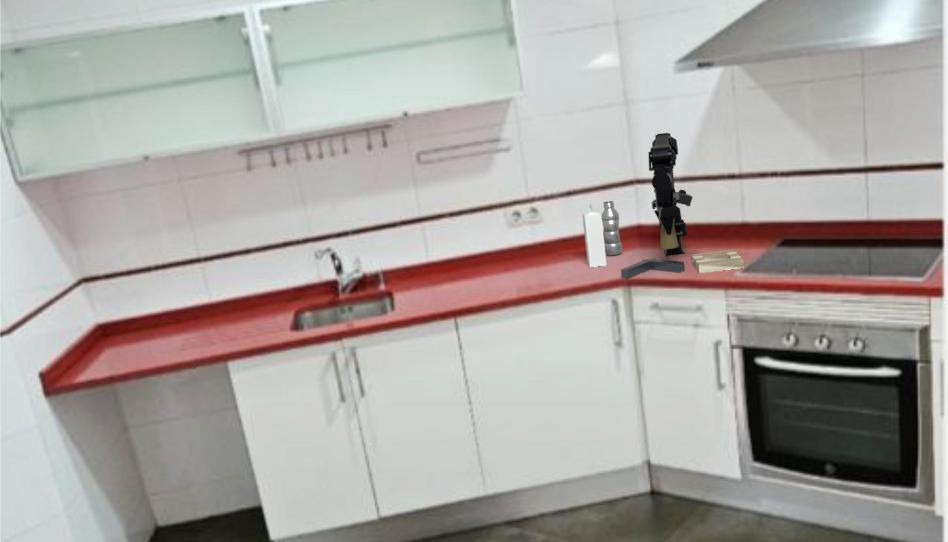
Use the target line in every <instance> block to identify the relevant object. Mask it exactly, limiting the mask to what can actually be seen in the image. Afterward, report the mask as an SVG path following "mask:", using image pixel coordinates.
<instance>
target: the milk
mask: <svg viewBox="0 0 948 542" xmlns="http://www.w3.org/2000/svg"><path fill="white" fill-rule="evenodd" d="M588 204H589V205H588V206H589V208H588V209H586V210H585V211H584V212H582V213H581V214H582V222H583V223H582V224H583V232H584V243H585V251H586V259H587V260H586V261H587V265H588V267H589V268H590V269H592V268H591V267H594V268H599V267H598V266H602V267H607V266H608V265H607V254H606V253H605V245H604V243H605V234H604V228H603V223H602V216H601V215H602V213H601V212H600V211H599V210H597V209H594V208H593V205H591V203H588ZM606 265H607V266H606Z"/></svg>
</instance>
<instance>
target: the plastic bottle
mask: <svg viewBox="0 0 948 542" xmlns="http://www.w3.org/2000/svg"><path fill="white" fill-rule="evenodd" d="M614 203H615V201H612V200H608V201H604V202H603V211H602V213H601V216H602V226H603V235H604V245H605V254H606V256H617V255H620V254H622V251H623V245H622V242H621V237H620V227H619V225H620V214H619V212H618V210H616V209H615V208H614V207H615V204H614Z"/></svg>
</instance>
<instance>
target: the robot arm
mask: <svg viewBox="0 0 948 542" xmlns="http://www.w3.org/2000/svg"><path fill="white" fill-rule="evenodd" d="M654 137H655V138H654V140H653V141H652V142H651V144H652V145H651V146H652V147H650V151H648V171H649V172H652V171H653V177H652V179H651V186H652V187H653V192H654V193H655V194H654V195H655V199H653V200H652V201H651V208H652V210H653V212H654V213H655V216H656V218H657V219H658V221H659V218H660V220H661V222H662V224H663V227H664V229H665V231H666V233H667V235H671V231H672V225H673V220H674V218H675V222H674V227H675V232H676V236H677V241H678V245H679V246H678V247H676V248H672V249H663V250H664V251H663V252H664V254H665V255H666V256H672V255H673V256H674V255H680V254H681V255H682V254H685V253H686V252H685V250H684V249H683V241H682V239H683V238H682V237H685V236H687V235H688V232H687V223H686V222H685V220H684V219H682V213H681V207H679V206H677V205H678V204H680V205H685V206H686V207H690V206H691V203H692V200H693V196H692V195H690V194H688V193H687V191H686V190H684V189H679V190H678V191H676V188H675V180H674V179H675V178H674V169H675V167H676V165H677V164H676V162H677V155H679V149H678V146H679V145H678V141H677V139H676V138H674V137H673V136H671V132H670V133H669V132H662V133H657V134H655V136H654ZM658 224H659V225H658V226H659V235H660V234H661V224H660V223H659V222H658Z"/></svg>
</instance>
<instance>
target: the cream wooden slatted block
mask: <svg viewBox="0 0 948 542" xmlns="http://www.w3.org/2000/svg"><path fill="white" fill-rule="evenodd" d="M690 259H691V261H690V262H691V264H692V266H693V267H694V268H695V270H696V272H697V273H699V274H706V273H707V272H708V273H715V271H716V272H724V271H723V270H725V271H732V270H731V269H734V270H741V269H740V268H743V269H745V263H744V258H743V257H741V255H739V253H737V251H735V249H730V250H729V249H728V250H721V251H712V252H704V253H695V254H691V255H690ZM708 273H707V274H708Z"/></svg>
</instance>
